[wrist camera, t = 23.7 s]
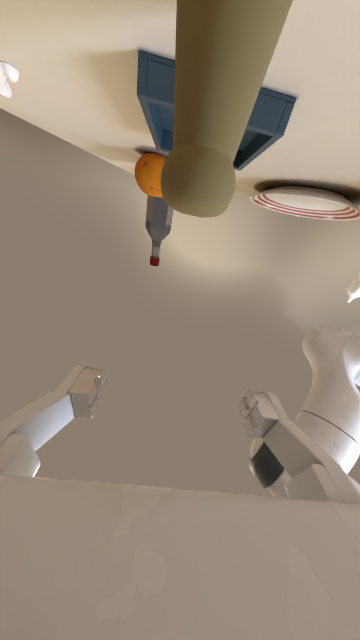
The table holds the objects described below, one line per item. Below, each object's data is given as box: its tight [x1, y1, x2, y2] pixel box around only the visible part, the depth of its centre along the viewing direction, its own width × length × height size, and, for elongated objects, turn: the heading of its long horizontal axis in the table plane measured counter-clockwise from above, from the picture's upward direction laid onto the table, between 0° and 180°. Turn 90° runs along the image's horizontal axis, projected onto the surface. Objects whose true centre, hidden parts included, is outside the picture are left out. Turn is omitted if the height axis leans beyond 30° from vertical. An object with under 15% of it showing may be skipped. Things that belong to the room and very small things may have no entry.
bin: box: [137, 51, 296, 170], centre depth 22 cm, size 15×15×2 cm
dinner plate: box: [250, 186, 360, 220], centre depth 46 cm, size 28×27×3 cm
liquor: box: [146, 195, 173, 266], centre depth 64 cm, size 9×9×30 cm
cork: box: [160, 0, 293, 217], centre depth 10 cm, size 6×6×11 cm
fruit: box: [135, 153, 166, 198], centre depth 42 cm, size 10×10×8 cm
